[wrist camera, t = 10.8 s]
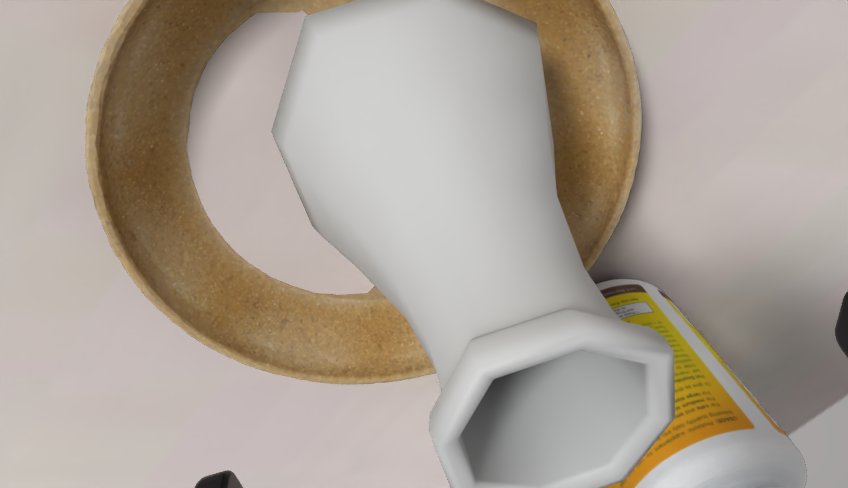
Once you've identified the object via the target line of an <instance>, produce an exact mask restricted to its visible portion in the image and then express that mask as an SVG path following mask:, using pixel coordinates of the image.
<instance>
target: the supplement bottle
mask: <svg viewBox="0 0 848 488" xmlns="http://www.w3.org/2000/svg"><path fill="white" fill-rule="evenodd" d="M596 286H597V287H598V289H599V290H600V292H601V293H602V295H603V296H604V298H605V299H606V301H607V302H608V304H609V305H610V307H611V308H612V310H613V311H614V313H615V314H616V315H617V316H618V317H619V318H620V319H621V320H622V321H624V322H629V323H633V324H637V325H642V326H646V327H650V328H652V329H654V330H655V331H656V332H658V333H659V334H660V335H662V336H663V337H665V338H666V340H667V341H668V343H669V344H670V346H671V347H672V349H673V351H674V382H675V419H674V420H673V421H672V423H671V424H670V425H669V426H668V427H667V429H666V430H665V431H664V432H663V434H662V435H661V436H660V437H659V439H658V440H657V441H656V442H655V443H654V445H653V446H652V447H651V448H650V450H649V451H648V452H647V453H646V455H645V456H644V457H643V458H642V459H641V461H640V462H639V463H638V464H637V466H636V467H635V468H634V469H633V471H632V472H631V473H630V474H629V475H628V477H627V478H626V479H625V480H624V481H622V482H619V483H616V484H613V485H610V486H607V487H604V488H805V485H806V478H807V470H806V466H805V461H804V459H803V457H802V455H801V453H800V451H799V450H798V449H797V447H796V446H795V445H794V443H793V442H792V441H791V439H790V438H789V437H788V436H787V435H786V433H785V432H784V431H783V430H782V429H781V428H780V427H779V425H778V424H777V423H776V422H775V421H774V419H773V418H772V417H771V416H770V415H769V414H768V412H767V411H766V410H765V409H764V408H763V407H762V406H761V404H760V403H759V402H758V401H757V400H756V398H755V397H754V396H753V395H752V394H751V392H750V391H749V390H748V389H747V388H746V387H745V386H744V384H743V383H742V382H741V381H740V380H739V378H738V377H737V376H736V375H735V374H734V373H733V372H732V370H731V369H730V368H729V367H728V366H727V364H726V363H725V362H724V361H723V360H722V358H721V357H720V356H719V355H718V354H717V353H716V351H715V350H714V349H713V348H712V347H711V346H710V345H709V343H708V342H707V341H706V340H705V339H704V338H703V336H702V335H701V334H700V333H699V332H698V331H697V330H696V328H695V327H694V326H693V325H692V324H691V322H690V321H689V320H688V319H687V318H686V317H685V316H684V315H683V313H682V312H681V311H680V310H679V309H678V308H677V307H676V305H675V304H674V303H673V302H672V301H671V300H670V299H669V298H668V296H667V295H666V294H665V293H663V292H662V291H661V290H660V289H658V288H657V287H655V286H653V285H651V284H649V283H647V282H643V281H640V280H634V279H615V280H608V281H604V282H600V283H597V284H596Z"/></svg>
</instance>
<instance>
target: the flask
mask: <svg viewBox="0 0 848 488" xmlns="http://www.w3.org/2000/svg"><path fill="white" fill-rule="evenodd" d="M271 132H272V134H273V137H274V139H275V141H276V144H277V146H278V148H279V150H280V153H281V155H282V157H283V160H284V162H285V164H286V167H287V169H288V171H289V173H290V176H291V178H292V180H293V183H294V185H295V187H296V190H297V192H298V194H299V196H300V199H301V201H302V203H303V206H304V208H305V210H306V213H307V215H308V217H309V220H310V222H311V224H312V226H313V227H314V228H315V229H316V230H317V232H318V233H319V234H320V235H321V236H322V237H323V238H324V239H326V240H327V241H328V242H329V243H330V244H331V245H332V246H334V247H335V248H336V249H337V250H338V251H339V252H340V253H341V254H343V255H344V256H345V257H346V258H347V259H348V260H349V261H350V262H352V263H353V264H354V265H355V266H356V267H357V268H358V269H359V270H360V271H361V272H362V273H363V274H364V275H365V276H366V277H367V278H368V279H369V280H370V281H371V282H372V283H373V284H374V285H375V286H376V288H377V289H378V290H379V291H380V292H381V293H382V294H383V295H384V296H385V297H386V298H387V299H388V300H389V301H390V302H391V303H392V304H393V305H394V306H395V307H396V308H397V309H398V310H399V311H400V312H401V313H402V314H403V316H404V317H405V318H406V319H407V321H408V323H409V324H410V326H411V328H412V330H413V331H414V333H415V335H416V337H417V338H418V340H419V342H420V344H421V345H422V347H423V349H424V351H425V352H426V354H427V356H428V358H429V360H430V361H431V363H432V365H433V367H434V368H435V370H436V372H437V375H438V378H439V381H440V387H441V395H440V396H439V398H438V400H437V402H436V404H435V405H434V407H433V409H432V411H431V413H430V420H429V432H430V435H431V438H432V441H433V444H434V447H435V449H436V452H437V454H438V457H439V459H440V462H441V464H442V467H443V470H444V472H445V475H446V477H447V480H448V482H449V485H450V487H451V488H604V487H607V486H610V485H613V484H616V483H619V482H622V481H624V480H625V479H626V478H627V477H628V475H629V474H630V473H631V472H632V471H633V469H634V468H635V467H636V466H637V464H638V463H639V462H640V461H641V459H642V458H643V457H644V456H645V455H646V453H647V452H648V451H649V450H650V448H651V447H652V446H653V445H654V443H655V442H656V441H657V440H658V439H659V437H660V436H661V435H662V434H663V432H664V431H665V430H666V429H667V427H668V426H669V425H670V424H671V423H672V421H673V420H674V419H675V382H674V351H673V349H672V347H671V346H670V344H669V343H668V341H667V340H666V338H665V337H663V336H662V335H660V334H659V333H658V332H656V331H655V330H654V329H652V328H650V327H646V326H642V325H637V324H633V323H629V322H624V321H622V320H621V319H620V318H619V317H618V316H617V315H616V314H615V313H614V311H613V310H612V308H611V307H610V305H609V304H608V302H607V301H606V299H605V298H604V296H603V295H602V293H601V292H600V290H599V289H598V287H597V286H596V284H595V283H594V281H593V280H592V279H591V277H590V276H589V274H588V273H587V271H586V270H585V268H584V266H583V263H582V261H581V258H580V255H579V253H578V250H577V248H576V245H575V242H574V240H573V237H572V234H571V232H570V229H569V226H568V224H567V221H566V218H565V216H564V213H563V210H562V208H561V205H560V202H559V200H558V197H557V190H556V177H555V160H554V143H553V136H552V129H551V121H550V114H549V107H548V100H547V93H546V86H545V79H544V72H543V65H542V58H541V50H540V43H539V36H538V29H537V23H536V22H534V21H531V20H529V19H527V18H524V17H522V16H519V15H517V14H515V13H512V12H510V11H508V10H505V9H503V8H500V7H498V6H496V5H493V4H491V3H488V2H486V1H484V0H355V1H352V2H349V3H346V4H342V5H339V6H336V7H333V8H330V9H327V10H323V11H320V12H317V13H314V14H311V15H308V16H305V20H304V23H303V26H302V30H301V33H300V36H299V40H298V43H297V47H296V50H295V53H294V57H293V60H292V64H291V67H290V70H289V74H288V77H287V80H286V84H285V87H284V91H283V94H282V97H281V101H280V104H279V108H278V111H277V114H276V118H275V121H274V125H273V128H272V131H271Z"/></svg>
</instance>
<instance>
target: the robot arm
mask: <svg viewBox="0 0 848 488" xmlns="http://www.w3.org/2000/svg"><path fill="white" fill-rule="evenodd" d="M835 336H836V340H837V342H838V344H839V346H840V348H841V349H842V351H843V352H844V353H845V355H846V356H847V357H848V292H847V293H846V294H845V296H844V298H843V302H842V305H841V309H840V313H839V317H838V320H837V324H836V328H835ZM195 488H243V487H242V485H241V484H240V482H239V480H238V479H237V477H236V475H235V474H234V473H233V472H231V471H223V472H219V473H216V474H212V475H209V476H206V477H204V478H202V479H201V480H200V481H199V482H198V483H197V484H196V486H195Z"/></svg>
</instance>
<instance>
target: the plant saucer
mask: <svg viewBox="0 0 848 488" xmlns="http://www.w3.org/2000/svg"><path fill="white" fill-rule="evenodd" d="M352 1H355V0H129V2H128V3H127V5H126V6H125V7H124V9H123V10H122V12H121V14H120V15H119V17H118V19H117V21H116V23H115V25H114V27H113V29H112V30H111V33H110V35H109V37H108V39H107V41H106V43H105V45H104V48H103V50H102V52H101V55H100V58H99V61H98V64H97V67H96V70H95V74H94V79H93V83H92V86H91V92H90V95H89V100H88V104H87V116H86V154H85V158H86V169H87V174H88V181H89V186H90V189H91V192H92V195H93V199H94V203H95V208H96V210H97V213H98V216H99V218H100V220H101V223H102V226H103V229H104V231H105V233H106V235H107V237H108V240H109V243H110V246H111V247H112V249H113V251H114V253H115V254H116V256H117V257H118V258H119V260H120V261H121V263H122V265H123V267H124V269H125V270H126V271H127V273H128V274H129V276H130V277H131V278H132V280H133V281H134V283H135V284H136V285H137V286H138V288H139V289H140V290H141V292H142V293H143V294H144V295H145V296H146V297H147V298H148V299H149V300H150V301H151V302H152V303H153V304H154V305H155V306H156V307H157V308H158V309H159V310H160V311H161V312H163V313H164V314H165V315H166V316H167V317H168V318H169V319H170V320H171V321H172V322H173V323H175V324H177V325H178V326H179V327H181V328H182V329H183V330H184V331H185V332H186V333H188V334H189V335H190V336H191V337H193V338H195V339H196V340H198V341H199V342H201V343H203V344H204V345H206V346H208V347H209V348H211V349H213V350H215V351H217V352H219V353H221V354H223V355H225V356H227V357H229V358H233V359H234V360H236V361H238V362H240V363H242V364H245V365H248V366H251V367H254V368H256V369H260V370H263V371H267V372H270V373H273V374H277V375H283V376H287V377H292V378H296V379H301V380H308V381H312V382H320V383H330V384H373V383H385V382H392V381H400V380H406V379H412V378H417V377H421V376H424V375H430V374H433V373H437V372H436V370H435V368H434V367H433V365H432V363H431V361H430V360H429V358H428V356H427V354H426V352H425V351H424V349H423V347H422V345H421V344H420V342H419V340H418V338H417V337H416V335H415V333H414V331H413V330H412V328H411V326H410V324H409V323H408V321H407V319H406V318H405V317H404V316H403V314H402V313H401V312H400V311H399V310H398V309H397V308H396V307H395V306H394V305H393V304H392V303H391V302H390V301H389V300H388V299H387V298H386V297H385V296H384V295H383V294H382V293H381V292H380V291H379V290H378V289H377V288H376V286H374V287H373V288H372V289H371V290H370V292H369V293H365V294H347V295H333V294H318V293H313V292H310V291H307V290H303V289H300V288H297V287H294V286H291V285H289V284H286V283H284V282H281V281H279V280H276V279H274V278H271V277H270V276H268V275H267V274H265V273H264V272H262V271H260V270H259V269H257V268H256V267H254V266H253V265H251V264H250V263H248V262H247V261H246V260H245V259H243V258H242V257H241V256H239V255H238V254H237V253H236V252H235V251H234V250H233V249H232V247H231V246H230V245H229V244H228V243H227V242H226V241H225V240H224V239H223V237H222V236H221V235H220V233H219V232H218V231H217V230H216V228H215V227H214V226H213V224H212V223H211V221H210V219H209V217H208V216H207V214H206V212H205V210H204V208H203V206H202V204H201V202H200V199H199V196H198V193H197V190H196V188H195V185H194V182H193V179H192V175H191V170H190V165H189V160H188V155H187V139H188V131H189V120H190V110H191V105H192V100H193V96H194V92H195V89H196V87H197V84H198V82H199V79H200V77H201V74H202V72H203V70H204V68H205V66H206V64H207V62H208V60H209V59H210V58H211V56H212V55H213V54H214V52H215V51H216V49H217V48H218V47H219V46H220V44H221V43H222V42H223V41H224V39H225V38H226V37H227V36H228V35H229V34H230V33H231V32H233V31H234V30H235V29H236V28H237V27H239V26H240V25H241V24H242V23H243V22H245V21H246V20H247V19H248V18H250V17H251V16H253V15H254V14H255V13H258V12H299V11H300V10H303V11H304V12H305V13H307V14H308V15H311V14H314V13H317V12H320V11H323V10H327V9H330V8H333V7H336V6H339V5H342V4H346V3H349V2H352ZM484 1H486V2H488V3H491V4H493V5H496V6H498V7H500V8H503V9H505V10H508V11H510V12H512V13H515V14H517V15H519V16H522V17H524V18H527V19H529V20H531V21H534V22H536V23H537V29H538V36H539V43H540V50H541V58H542V65H543V72H544V79H545V86H546V93H547V100H548V107H549V114H550V121H551V129H552V136H553V143H554V160H555V177H556V190H557V197H558V200H559V202H560V205H561V208H562V210H563V213H564V216H565V218H566V221H567V224H568V226H569V229H570V232H571V234H572V237H573V240H574V242H575V245H576V248H577V250H578V253H579V255H580V258H581V261H582V263H583V266H584V268H585V270H586V271H587V272H588V271H589V270H590V268H591V267H592V266H593V264H594V263H595V262H596V260H597V259H598V257H599V255H600V253H601V252H602V250H603V249H604V247H605V245H606V244H607V242H608V241H609V239H610V237H611V235H612V233H613V232H614V229H615V227H616V225H617V223H618V222H619V219H620V217H621V215H622V213H623V211H624V208H625V205H626V202H627V200H628V197H629V194H630V190H631V187H632V185H633V181H634V176H635V170H636V167H637V163H638V156H639V151H640V139H641V124H642V107H641V96H640V89H639V82H638V78H637V71H636V67H635V62H634V59H633V54H632V52H631V48H630V46H629V43H628V39H627V37H626V34H625V32H624V30H623V27H622V25H621V23H620V21H619V19H618V17H617V15H616V13H615V11H614V9H613V7H612V5H611V3H610V1H609V0H484Z"/></svg>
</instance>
